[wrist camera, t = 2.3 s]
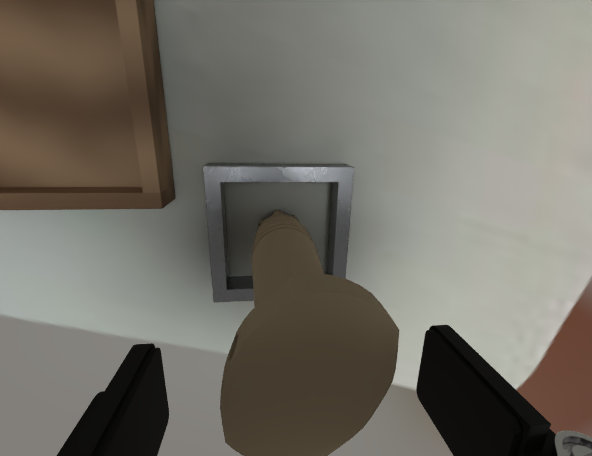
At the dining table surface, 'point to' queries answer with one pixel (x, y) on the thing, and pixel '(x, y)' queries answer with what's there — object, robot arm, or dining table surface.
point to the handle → (303, 352)
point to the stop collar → (222, 172)
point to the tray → (82, 106)
